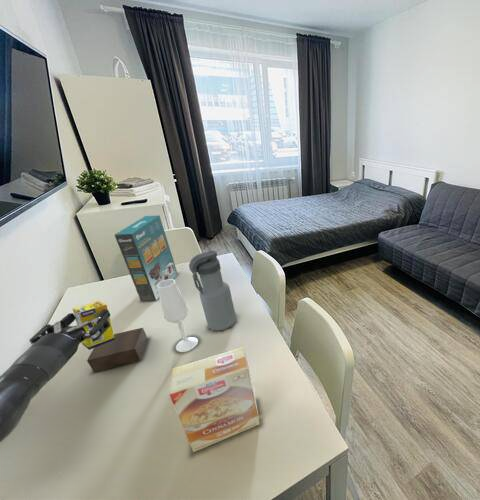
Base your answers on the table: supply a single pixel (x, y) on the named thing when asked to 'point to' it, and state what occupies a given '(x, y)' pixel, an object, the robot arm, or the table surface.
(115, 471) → the table surface
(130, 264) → the cake mix box
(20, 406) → the robot arm
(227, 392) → the coffeecake box
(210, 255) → the water bottle
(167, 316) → the champagne flute
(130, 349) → the block
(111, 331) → the supplement box
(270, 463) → the table surface
